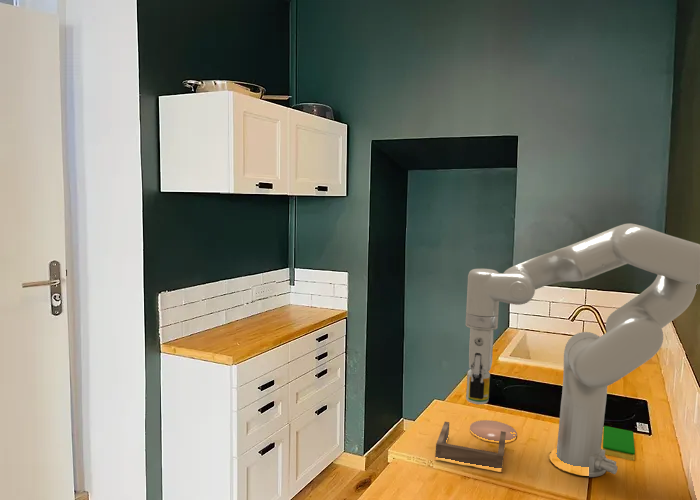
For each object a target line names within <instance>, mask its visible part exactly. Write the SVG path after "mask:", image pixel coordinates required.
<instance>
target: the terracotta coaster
mask: <svg viewBox="0 0 700 500" xmlns="http://www.w3.org/2000/svg"><path fill="white" fill-rule="evenodd" d="M470 430H471V431H472V432H473V433H474V434H476V435H477V436H479V437H482V438H485V439H488V440H494V441H500V434H501V431H503V432H506V437H505V440H511V439H513V438H515V437H516V436H517V435H518V433H517V430H516V429H515V428H514V427H512V426H511V425H510V424H507V423H505V422H500V421H497V420H487V419H486V420H482V419H481V420H477V421H474V422H472V423H471V424H470V425H469V431H470ZM510 432H512V433H513V432H515V433H516V434H511V433H510ZM513 435H515V436H513ZM517 437H518V436H517Z"/></svg>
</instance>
